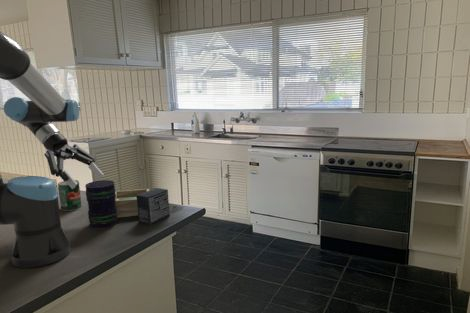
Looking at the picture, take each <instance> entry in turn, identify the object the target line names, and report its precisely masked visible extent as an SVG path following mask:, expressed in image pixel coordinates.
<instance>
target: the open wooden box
mask: <svg viewBox="0 0 470 313" xmlns="http://www.w3.org/2000/svg"><path fill="white" fill-rule="evenodd" d="M149 190H150V188H141V189H140V188H139V189H126V190H115V194H116V197H115V203H116V207H117V213H118V215H117V217H118V218H125V217H126V218H127V217H138V207H137V197H136V195H138V194H141V193H144V192H147V191H149Z"/></svg>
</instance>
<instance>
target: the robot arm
mask: <svg viewBox="0 0 470 313" xmlns="http://www.w3.org/2000/svg"><path fill="white" fill-rule="evenodd" d="M31 60H32V59H31V57H30V55H29V53H27V51H26V50H25V49H24V48H23V47H22V46H21V45H20V44H19V43H18V42H17V41H15V40H14V39H13V38H12V37H10V36H8V35H6V34H5V33H4V32H1V31H0V79H1V80H3V81H7V82H9V83H10V84H12V85H13V87H15V88H16V89H18V90H19V91H20V92H21V93H22V94H23V95H24V96H25V97H27V98H28V100H26V99H24V98H21V97H19V96H14V97H10V98H8V99H7V100H6V101H5V102H4V105H3V112H4V114H5V115H6V116H7V117H8V118H10V120H11V121H14V122H16V123H19V124H21V125H22V126H24V127H26V128H27V129H29V131H30V132H31V134H33V136H35V137H36V139H37V140H38V141H39V142H40V144H41V145H43V147H44V148H45V150H46V151H45V153H44V157H45V158H46V160H47V163H48V167H49V171H50V174H51V175H52V176H55V177H57V178H58V177H60V178H61V179H62V181H66V183H67V184H68V185H69V186H70V187H71V188H72V189H74V188H75V187H76V185H77V182H76V181H75V180H76V179H74V177H73V176H72V175H71V174H70V173H69V171H67V170H64V161H65V160H76V161H77V162H80V163H82V164H85V165H87V166H88V169H89V170H90V171H91V172H92V173H93V174H94V175H95V177H96V178H97V179H98V180H101V179H102V177H103V176H104V175H105V174H104V173H103V172H102V170H101V169H100V167H99V166H98V164H96V160H97V158H96V157H94V156H93V155H92V154H90V153H88V151H85V150H84V149H82V148H81V147H80V146H79V145H77V143H76V144H75V143H74V144H73V145H72V146H71V145H70V144H69V143H68V140H67V138H66V137H65V136H64V135H63V134H62V133H61V131H60V130H59V129H58V128H57V127H56V126H55V124H53V123H64V122H65V123H68V122H76V121H77V120H78V119H79V117H80V107H79V103H78V102H77V101H76V100H75V99H65V98H64V97H63V96H62V95H61V94H60V93H59V92H58V91H57V89H55V87H54V86H53V85H52V84H51V83H50V82H49V81H48V80H47V79H46V78H45V76H44V75H43V74H42V73H41V72H40V71H39V70H38V69H37V68H36V67H35V66H34V65H33V63H32V61H31ZM1 225H4V226H5V225H7V226H8V225H13V227H14V232H15V234H14V235H15V236H14V241H13V246H12V250H11V255H10V256H11V262H12V265H13V266H14V267H15V268H21V269H23V268H24V269H31V268H32V269H33V268H39V267H43V266H47V265H51V264H54V263H56V262H58V261H61V260H62V259H64V258H65V257H67V256H68V255H69V254H70V253H71V250H72V249H71V243H70V240H69V238H68V236H67V235H66V233H65V230H64V228H62V223H61V213H60V205H59V192H58V190H57V186H56V183H55V181H54V179H51V178H50V177H47V176H39V175H27V176H24V175H23V176H16V177H12V178H11V179H9V180H8V181H7V182H5V183H4V181H3V176H2V174H1V173H0V226H1Z"/></svg>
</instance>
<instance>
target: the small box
mask: <svg viewBox="0 0 470 313" xmlns="http://www.w3.org/2000/svg"><path fill="white" fill-rule="evenodd" d="M136 197H137V207H138V216H137V217H138V223H142V224H146V225H150V226H151V225H153V224H155V223H157V222H159V221H161V220H164V219H166V218H168V217H170V214H171V213H170V204H169V203H170V202H169V201H170V200H169V190H168V188H167V189H165V188H159V187H155V188H152V189H149V191H147V192H144V193H141V194H138V195H136Z"/></svg>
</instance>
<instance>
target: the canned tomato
mask: <svg viewBox="0 0 470 313" xmlns="http://www.w3.org/2000/svg"><path fill="white" fill-rule="evenodd" d="M74 180H75V181H76V182H77V185H76V187H75V188H74V189H72V188H71V187H70V186H69V185H68V184H67V183H66V181H63V180H62V181H59V182H58V183H57V187H58V188H57V189H58V197H59V202H60V210H61V211H64V212H71V211H76V210H79V209H81V208H83V206H82V197H81V189H80V188H81V187H80V181H79V180H78V179H74Z"/></svg>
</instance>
